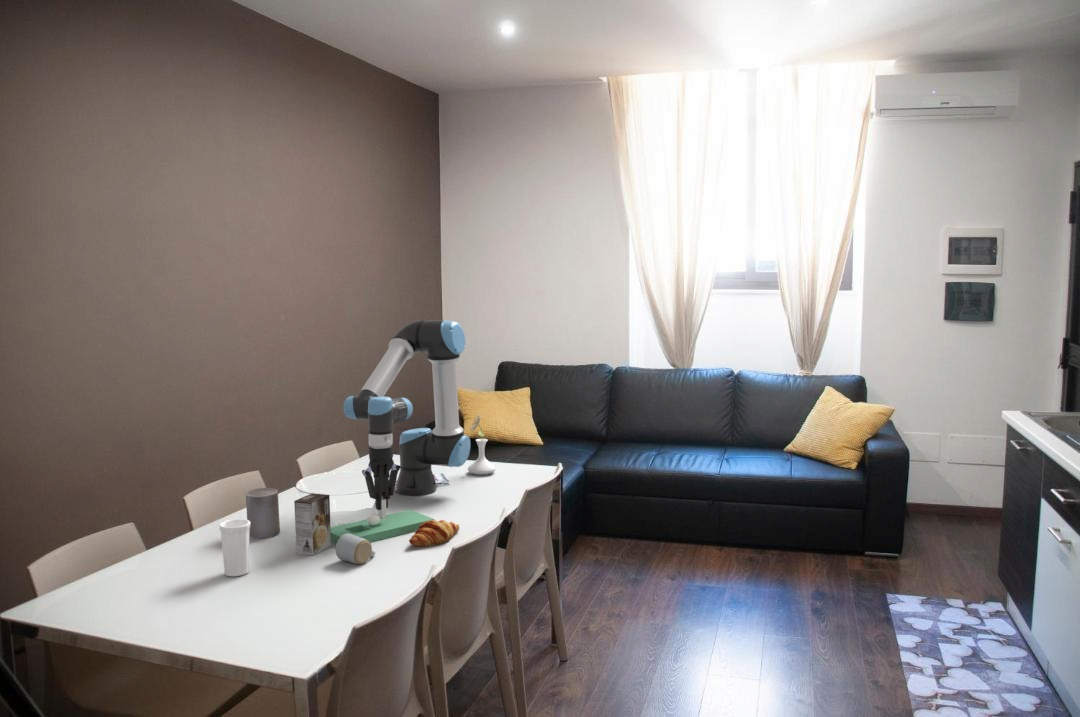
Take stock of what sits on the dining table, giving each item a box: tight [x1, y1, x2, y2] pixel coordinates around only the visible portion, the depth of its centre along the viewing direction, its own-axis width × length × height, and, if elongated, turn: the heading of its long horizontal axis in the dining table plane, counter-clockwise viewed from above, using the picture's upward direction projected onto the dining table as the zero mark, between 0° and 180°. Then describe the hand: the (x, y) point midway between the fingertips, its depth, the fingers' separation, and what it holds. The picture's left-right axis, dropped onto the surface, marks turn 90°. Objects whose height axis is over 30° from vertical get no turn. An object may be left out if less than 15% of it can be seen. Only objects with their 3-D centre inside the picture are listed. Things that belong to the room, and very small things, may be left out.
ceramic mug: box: [335, 533, 376, 565], centre depth 246 cm, size 11×8×8 cm
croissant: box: [408, 519, 460, 547], centre depth 264 cm, size 21×10×8 cm, turn 144°
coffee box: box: [293, 492, 332, 556], centre depth 254 cm, size 9×6×16 cm
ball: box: [366, 512, 380, 526], centre depth 270 cm, size 4×4×4 cm
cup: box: [218, 518, 251, 577], centre depth 234 cm, size 8×8×14 cm
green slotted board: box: [330, 509, 435, 544], centre depth 272 cm, size 32×14×2 cm, turn 132°
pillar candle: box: [245, 487, 281, 540], centre depth 268 cm, size 10×10×15 cm
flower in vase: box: [467, 413, 496, 476], centre depth 345 cm, size 13×11×25 cm
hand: (382, 518), depth 272 cm, fingers closed
